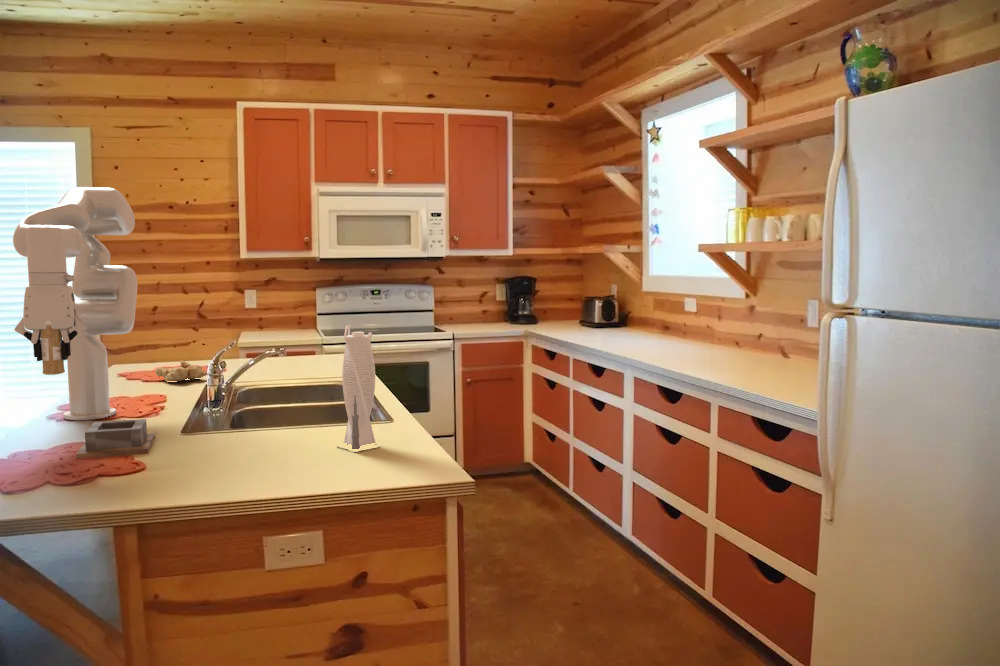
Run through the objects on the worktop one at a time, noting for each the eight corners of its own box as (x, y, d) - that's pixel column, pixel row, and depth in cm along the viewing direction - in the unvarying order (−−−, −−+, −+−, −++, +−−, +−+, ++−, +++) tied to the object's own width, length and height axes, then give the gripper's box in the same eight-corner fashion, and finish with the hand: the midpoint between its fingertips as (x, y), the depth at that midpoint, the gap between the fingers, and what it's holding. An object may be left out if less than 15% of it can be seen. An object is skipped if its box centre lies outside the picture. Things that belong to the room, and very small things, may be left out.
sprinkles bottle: (65, 374, 172) (62, 315, 170) (42, 375, 169) (38, 316, 168) (64, 371, 176) (61, 314, 174) (41, 372, 173) (38, 315, 172)
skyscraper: (333, 446, 172) (331, 325, 169) (361, 440, 178) (360, 323, 175) (355, 453, 166) (353, 327, 163) (384, 446, 172) (382, 325, 169)
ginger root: (213, 379, 257) (206, 356, 256) (164, 393, 250) (157, 371, 248) (205, 374, 271) (199, 353, 269) (159, 388, 263) (152, 366, 262)
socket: (89, 443, 175) (88, 420, 174) (155, 438, 180) (154, 416, 179) (76, 460, 160) (74, 435, 159) (147, 455, 165) (146, 431, 164)
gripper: (92, 279, 176) (96, 356, 178) (9, 279, 171) (15, 358, 173) (86, 281, 169) (91, 360, 171) (0, 281, 164) (5, 363, 166)
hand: (52, 358), depth 172 cm, fingers closed on sprinkles bottle, 4 cm apart
